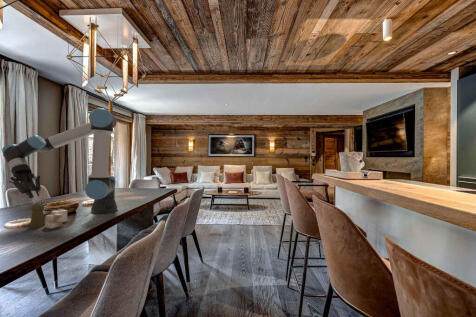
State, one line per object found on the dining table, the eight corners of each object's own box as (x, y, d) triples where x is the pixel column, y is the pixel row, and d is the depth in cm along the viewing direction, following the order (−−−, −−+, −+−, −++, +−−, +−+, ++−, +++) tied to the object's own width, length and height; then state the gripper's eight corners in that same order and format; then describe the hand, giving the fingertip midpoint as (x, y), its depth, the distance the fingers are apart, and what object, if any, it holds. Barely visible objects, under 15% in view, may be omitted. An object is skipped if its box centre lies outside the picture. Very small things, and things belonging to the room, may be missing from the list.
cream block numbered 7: (61, 220, 128) (61, 209, 128) (67, 221, 126) (67, 209, 126) (51, 222, 123) (51, 210, 123) (56, 223, 121) (57, 211, 121)
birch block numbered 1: (56, 224, 119) (56, 212, 119) (62, 226, 117) (62, 214, 117) (45, 227, 114) (45, 215, 115) (51, 228, 113) (51, 216, 113)
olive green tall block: (45, 226, 117) (46, 204, 117) (29, 228, 112) (30, 206, 112) (44, 223, 121) (45, 202, 121) (29, 225, 117) (29, 204, 117)
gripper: (32, 172, 130) (48, 204, 124) (1, 173, 118) (17, 209, 112) (37, 163, 128) (54, 195, 122) (6, 163, 116) (24, 199, 110)
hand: (37, 202), depth 117 cm, fingers closed
